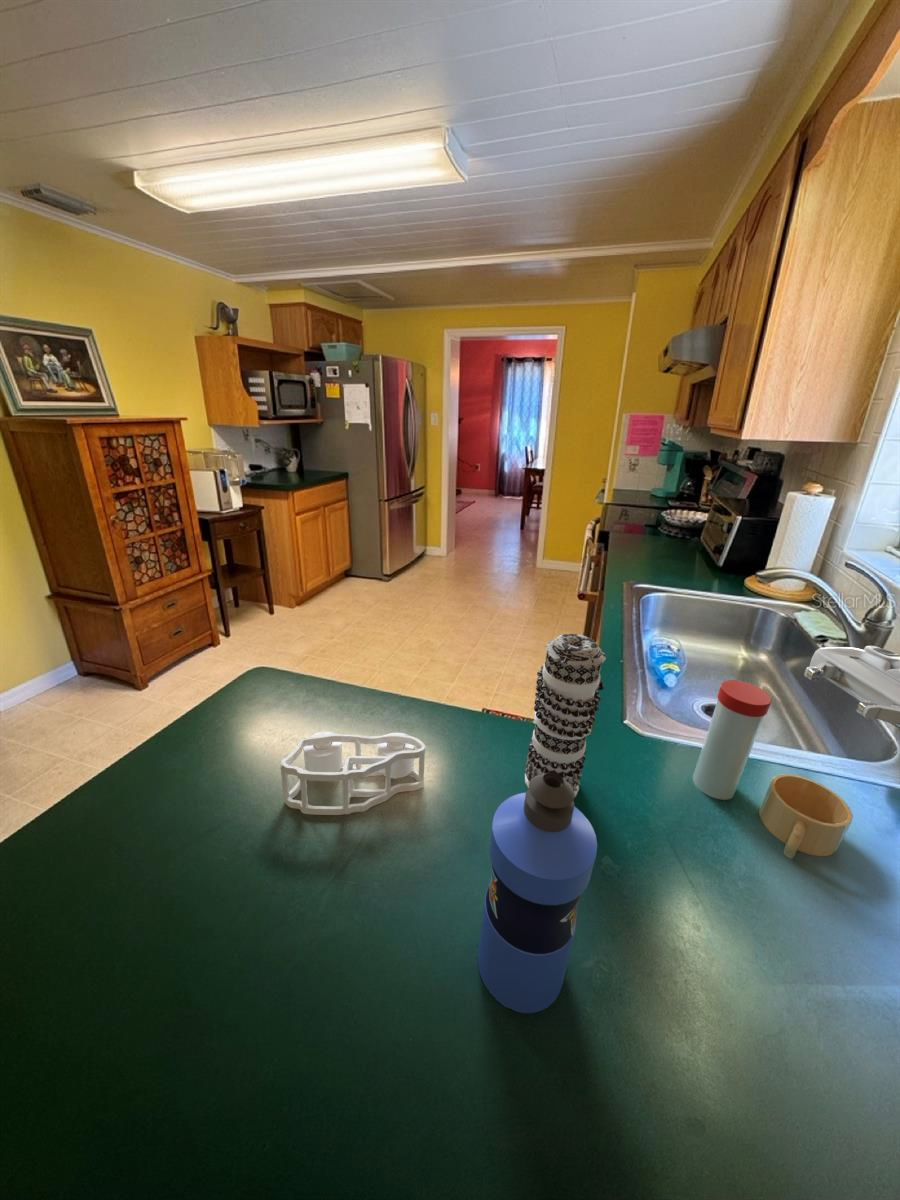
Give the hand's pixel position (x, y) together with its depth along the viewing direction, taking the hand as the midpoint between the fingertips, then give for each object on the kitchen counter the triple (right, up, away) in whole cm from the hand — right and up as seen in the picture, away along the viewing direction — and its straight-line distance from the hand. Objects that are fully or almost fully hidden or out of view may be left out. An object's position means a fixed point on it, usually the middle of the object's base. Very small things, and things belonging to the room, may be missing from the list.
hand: (833, 690), depth 70 cm
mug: (-8, -20, -3) cm, 22 cm away
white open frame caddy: (-71, -15, +1) cm, 72 cm away
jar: (-15, -16, +5) cm, 23 cm away
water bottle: (-50, -25, -20) cm, 59 cm away
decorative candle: (-41, -15, +4) cm, 44 cm away
